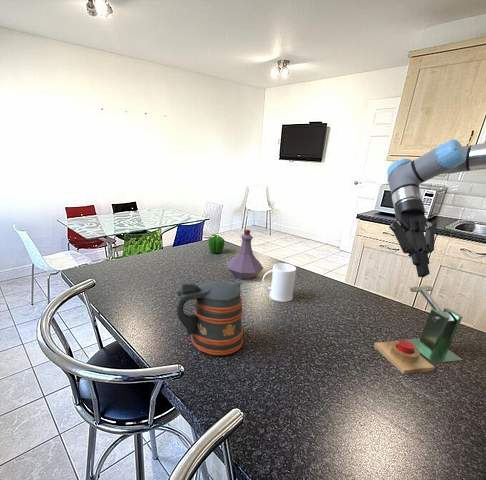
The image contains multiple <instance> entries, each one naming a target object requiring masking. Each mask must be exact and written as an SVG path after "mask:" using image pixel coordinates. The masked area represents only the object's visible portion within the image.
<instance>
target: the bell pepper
mask: <svg viewBox="0 0 486 480" xmlns="http://www.w3.org/2000/svg"><path fill="white" fill-rule="evenodd" d="M211 236H212V237H209V238H208V241H207V243H208V248H209V252H210V253H211V254H222V252H223V251H224V247H225V239H224V238H223V237H222V236H218V235H217V234H215V233H212V234H211Z"/></svg>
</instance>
